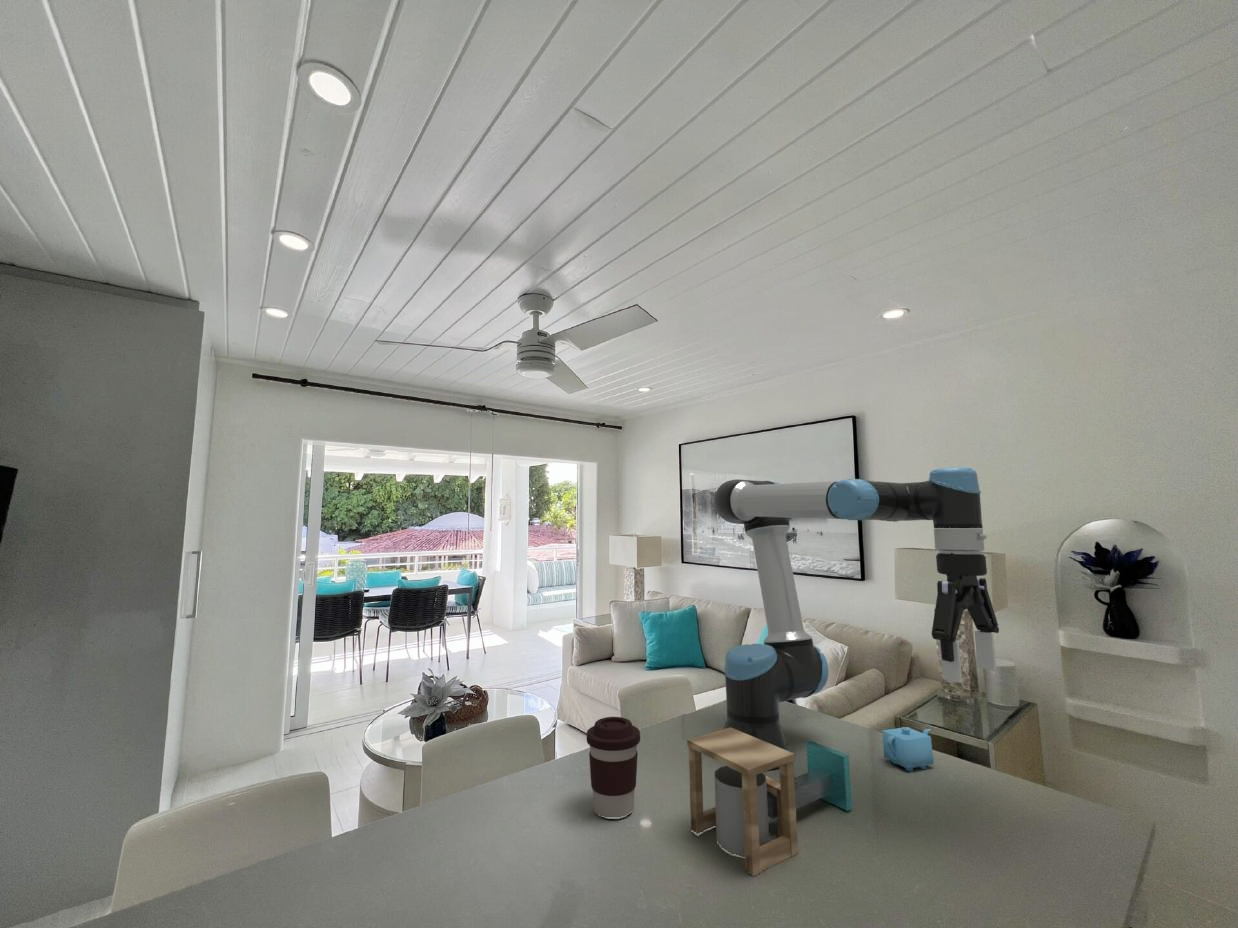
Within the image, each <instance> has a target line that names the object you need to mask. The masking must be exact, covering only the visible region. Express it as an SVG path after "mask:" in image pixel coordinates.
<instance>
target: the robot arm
mask: <svg viewBox="0 0 1238 928" xmlns="http://www.w3.org/2000/svg"><path fill="white" fill-rule="evenodd" d="M981 494H982V492H981V490H980V485H979V479H978V474H977V472H976V470H975V469H974V468H971V467H965V466H964V467H957V466H956V467H942V468H941V467H940V468H937V469H936V468H935V469H932V470H930V472H929V478H928V480H926V481H920V482H918V481H916V482H893V481H891V482H890V481H889V482H888V481H873V480H863V479H860V478H851V479H850V478H849V479H848V478H846V479H841V480H838V481H836V480H835V481H816V482H812V481H811V482H791V483H779V482H775V481H771V480H751V479H730V480H727V481H725V482H723V483H722V484H721V485H719V487H717V489H716V490H715V492H714V495H713V505H714V509H715V511H716V513H717V515H718V516H719V517H720V518H721V519H722V520H724V521H725V522H728V523H730V524H737V525H743V528H744V533H745V535H746V536H748V537H749V538H750V539H751V540H752V547H753V551H754V556H755V562H756V568H757V569H756V570H757V575H758V579H759V580H758V581H759V587H760V592H761V597H762V605H763V609H764V615H765V620H766V621H765V622H766V625H767V630H768V631H767V632H768V633H767V635H766V637H765V638H764V640H763V643H752V644H748V643H746V644H741V645H737V646H734V647H732V648H730V649H729V650H728V651H727V652H726V654H725V658H724V660H725V662H724V663H725V664H724V670H723V671H724V676H725V677H724V678H725V679H724V680H725V694H726V695H725V696H726V699H725V700H726V702H725V703H726V720H725V724H724V727H723V729H727V728H730V727H731V728H734V729H736V730H738V731H741V732H743V733H746V734H748V735H750V736H753V737H755V738H758V739H760V740H762V741H765V742H767V743H770V744H772V745H774V746H777V747H779V748H782V749H784V750H787V751H789V752H790V748H789V744H788V743H787V742H786V738H785V735H784V732H783V728H782V725H781V722H780V710H779V709H780V707H779V706H780V705H779V703H782V702H787V701H792V700H796V699H802V698H803V699H806V698H809V697H811V696H813V695H815V694H816V695H817V694H818V693H819V692H821V691H823V689H824V687H825V686H826V685H827V682H828V679H829V665H828V661H827V658H826V656H825V654H824V653H823V652H822V651H821V649H820V648H819V647H817V646H816V645H814V641H813V638H812V637H813V636H811V635H810V634H809V633H808V632H807V631H806V630H805V629H804V624H803V623H804V622H803V618H802V614H801V613H802V612H801V608H800V603H799V599H798V598H799V597H798V593H797V588H796V582H795V577H794V572H793V567H792V561H791V556H790V552H789V547H788V542H787V537H786V535H787V533H788V532H789V530H790V528H791V526H790V522H791V520H792V519H795V518H796V519H822V520H823V519H827V520H829V519H832V520H834V519H835V520H848V521H881V522H882V521H883V522H895V523H896V522H900V521H901V522H906V521H908V522H909V521H910V522H911V521H912V522H913V521H932V523H933V536H934V538H933V539H934V549H935V550H936V551H938V553H936V554H935V558H936V559H935V561H936V571H937V572H938V574H941V575H945V576H946V580H937V583H936V585H937V587H936V589H937V595H936V601H935V602H936V603H935V607H934V608H935V609H934V614H933V616H934V617H933V621H932V627H931V636H932V637H931V638H932V639H933V640H938V641H939V648H940V650H939V652H940V660H941V661H940V663H941V675H942V680H945V681H948V682H949V681H950V682H954V683H958V684H962V683H963V675H962V665H961V664H962V663H961V661H962V660H961V651H960V650H961V649H960V642H959V641H956V640H957V636H958V633H959V629H960V625H961V623H962V622H961V621H962V618H963V614H964V611H965V610H967V611H968V614H969V615H970V618H971V620H972V621H973V624H974V625H975V628H976V629H977V630H975V631H973V633H974V642H975V654H976V664H977V668H980V669H984V670H989V671H997V666H996V665H997V663H996V654H995V652H996V651H995V641H994V634H993V633H995V634H998V633H999V632H1000V629H999V624H998V620H997V616H996V613H995V610H994V607H993V602H992V600H991V597H990V594H989V590H988V585H987V580H986V578H985V577H983V576H986V575H987V574H988V570H987V569H988V567H987V557H986V556H985V554H983V553H982V552H983V551H984V550H985V541H984V540H986V539H987V535H986V534H985V533H984V529H983V528H984V527H983V520H982V519H983V518H982V508H981V507H982V504H981ZM981 577H982V578H981ZM777 769H780V766H778V767H776V768H773V769H770V771H771V770H777Z"/></svg>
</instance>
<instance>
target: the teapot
mask: <svg viewBox="0 0 1238 928" xmlns="http://www.w3.org/2000/svg"><path fill="white" fill-rule="evenodd" d="M931 730H932V729H931V728H926V729H924V730H923V731H922V732H921V731H918V730H916V729H913V728H911V727H909V726H902V727H898V728H890V729H884V730H882V731H881V735H882V745H883V746H882V747H883V756H884V757H883V758H885V759H887V760H889V761H891V763H892V764H893V765H894V764H895V765H898V766H900V767H903V768H904V770H905V771H907V772H914V769H913V768H920V769H921V770H922V769H923V770H926V769H927V767H926V766H930V765H934V755H933V744H932V737H931V735H929V733H930V732H931Z"/></svg>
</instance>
